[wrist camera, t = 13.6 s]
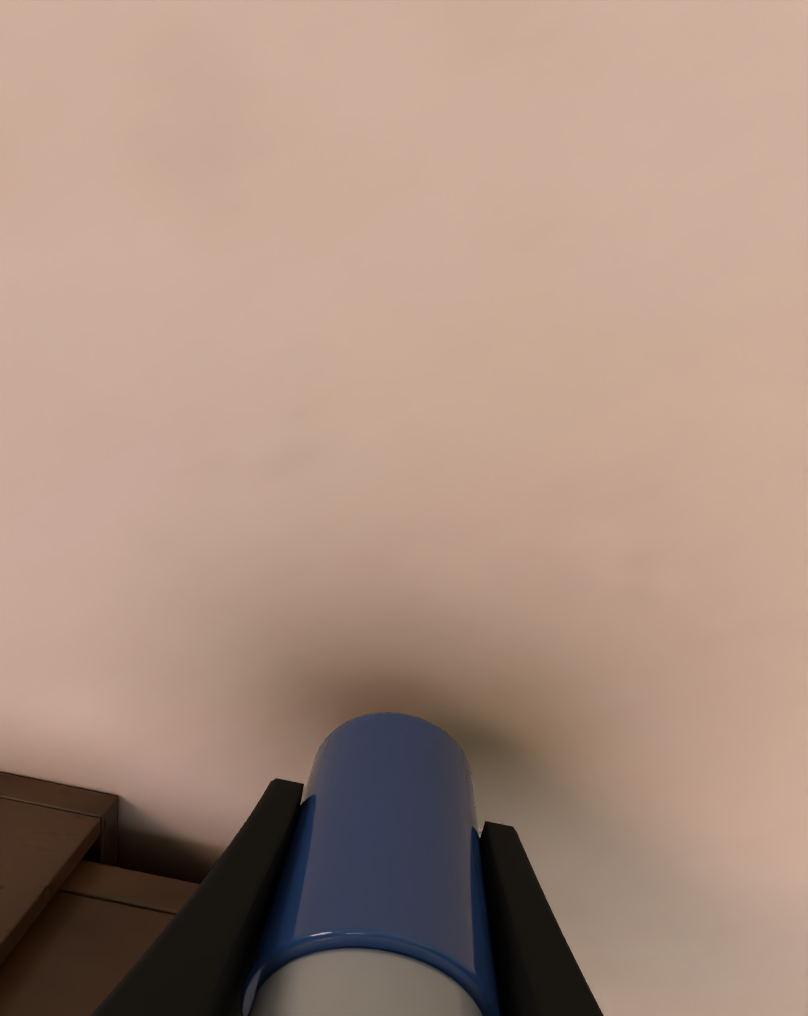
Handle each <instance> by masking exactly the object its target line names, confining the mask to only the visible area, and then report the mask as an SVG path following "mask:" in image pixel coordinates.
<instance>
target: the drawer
mask: <svg viewBox="0 0 808 1016" xmlns="http://www.w3.org/2000/svg"><path fill="white" fill-rule="evenodd" d="M199 885H200V884H197V883H192V882H187V881H182V880H177V879H172V878H168V877H163V876H158V875H153V874H148V873H143V872H138V871H134V870H129V869H124V868H119V867H114V866H109V865H105V864H100V863H95V862H90V861H85V860H80V862H79V863H78V864H77V866H76V867H75V868H74V870H73V871H72V872H71V874H70V875H69V876H68V877H67V879H66V880H65V881H64V883H63V884H62V885H61V887H60V888H59V889H58V891H57V892H56V893H55V895H54V896H53V897H52V899H51V900H50V901H49V902H48V904H47V905H46V906H45V908H44V909H43V910H42V912H41V913H40V914H39V916H38V917H37V918H36V920H35V921H34V922H33V924H32V925H31V926H30V927H29V929H28V930H27V931H26V933H25V934H24V935H23V937H22V938H21V939H20V941H19V942H18V943H17V945H16V946H15V947H14V948H13V950H12V951H11V952H10V954H9V955H8V956H7V958H6V959H5V960H4V962H3V963H2V964H1V966H0V1016H90V1015H91V1014H92V1013H93V1012H94V1010H95V1009H96V1008H97V1007H98V1006H99V1005H100V1004H101V1003H102V1001H103V1000H104V999H105V998H106V997H107V996H108V995H109V994H110V992H111V991H112V990H113V989H114V988H115V987H116V986H117V984H118V983H119V982H120V981H121V980H122V979H123V978H124V976H125V975H126V974H127V973H128V972H129V971H130V969H131V968H132V967H133V966H134V965H135V964H136V962H137V961H138V960H139V959H140V958H141V957H142V955H143V954H144V953H145V952H146V951H147V949H148V948H149V947H150V946H151V945H152V943H153V942H154V941H155V940H156V938H157V937H158V936H159V935H160V934H161V932H162V931H163V930H164V929H165V927H166V926H167V925H168V924H169V923H170V921H171V920H172V919H173V918H174V916H175V915H176V914H177V913H178V911H179V910H180V909H181V908H182V907H183V905H184V904H185V903H186V902H187V900H188V899H189V898H190V897H191V895H192V894H193V893H194V891H195V890H196V889H197V888H198V886H199ZM240 1016H241V1014H240Z"/></svg>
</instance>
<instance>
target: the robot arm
mask: <svg viewBox="0 0 808 1016" xmlns="http://www.w3.org/2000/svg"><path fill="white" fill-rule="evenodd" d="M303 787H304V784H301V783H297V782H292V781H287V780H282V779H277V778H276V779H275V780H273V781H271V782H270V784H269V786H268V787H267V789H266V791H265V793H264V794H263V796H262V797H261V799H260V801H259V802H258V804H257V805H256V807H255V808H254V810H253V812H252V813H251V815H250V816H249V818H248V819H247V821H246V822H245V823H244V825H243V826H242V828H241V829H240V831H239V832H238V833H237V835H236V836H235V838H234V839H233V841H232V842H231V843H230V845H229V846H228V848H227V849H226V850H225V852H224V853H223V854H222V856H221V857H220V858H219V860H218V861H217V862H216V864H215V865H214V866H213V868H212V869H211V870H210V872H209V873H208V874H207V876H206V877H205V878H204V880H203V881H202V882H201V884H200V885H199V886H198V888H197V889H196V890H195V891H194V893H193V894H192V895H191V897H190V898H189V899H188V900H187V902H186V903H185V904H184V905H183V907H182V908H181V909H180V910H179V911H178V913H177V914H176V915H175V916H174V918H173V919H172V920H171V921H170V923H169V924H168V925H167V926H166V927H165V929H164V930H163V931H162V932H161V934H160V935H159V936H158V937H157V938H156V940H155V941H154V942H153V943H152V945H151V946H150V947H149V948H148V949H147V951H146V952H145V953H144V954H143V955H142V957H141V958H140V959H139V960H138V961H137V962H136V964H135V965H134V966H133V967H132V968H131V969H130V971H129V972H128V973H127V974H126V975H125V976H124V978H123V979H122V980H121V981H120V982H119V983H118V984H117V986H116V987H115V988H114V989H113V990H112V991H111V992H110V994H109V995H108V996H107V997H106V998H105V999H104V1000H103V1001H102V1003H101V1004H100V1005H99V1006H98V1007H97V1008H96V1009H95V1010H94V1012H93V1013H92V1014H91V1015H90V1016H240V1014H241V1011H240V1000H241V990H242V987H243V984H244V980H245V977H246V974H247V971H248V968H249V964H250V961H251V958H252V955H253V952H254V949H255V946H256V942H257V939H258V936H259V933H260V930H261V927H262V923H263V920H264V917H265V914H266V911H267V908H268V905H269V901H270V898H271V895H272V892H273V889H274V886H275V882H276V879H277V876H278V873H279V870H280V867H281V864H282V861H283V859H284V856H285V853H286V849H287V846H288V843H289V840H290V837H291V834H292V830H293V827H294V824H295V821H296V818H297V815H298V811H299V808H300V805H301V799H302V793H303ZM480 846H481V854H482V862H483V870H484V879H485V887H486V895H487V903H488V911H489V919H490V927H491V935H492V944H493V952H494V960H495V968H496V976H497V984H498V992H499V1000H500V1009H501V1016H604V1015H603V1014H602V1012H601V1010H600V1008H599V1006H598V1004H597V1002H596V1000H595V998H594V996H593V994H592V992H591V990H590V988H589V986H588V984H587V982H586V980H585V978H584V976H583V974H582V972H581V970H580V968H579V966H578V964H577V962H576V960H575V958H574V956H573V954H572V952H571V950H570V948H569V946H568V944H567V942H566V940H565V938H564V936H563V934H562V931H561V929H560V927H559V925H558V923H557V921H556V919H555V917H554V915H553V912H552V910H551V908H550V906H549V904H548V902H547V899H546V897H545V895H544V893H543V891H542V889H541V886H540V884H539V882H538V880H537V877H536V875H535V873H534V871H533V868H532V866H531V864H530V862H529V859H528V857H527V855H526V852H525V850H524V848H523V846H522V843H521V841H520V839H519V836H518V834H517V832H516V830H515V829H514V827H512V826H507V825H502V824H497V823H492V822H488V821H485V824H484V827H483V830H482V834H481V837H480Z"/></svg>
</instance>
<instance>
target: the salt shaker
mask: <svg viewBox="0 0 808 1016" xmlns="http://www.w3.org/2000/svg"><path fill="white" fill-rule="evenodd" d="M240 1011H241V1016H501V1009H500V1000H499V992H498V984H497V976H496V968H495V960H494V952H493V944H492V935H491V927H490V919H489V911H488V903H487V895H486V887H485V879H484V870H483V862H482V854H481V846H480V838H479V830H478V822H477V813H476V805H475V797H474V789H473V781H472V773H471V769H470V765H469V763H468V760H467V758H466V756H465V754H464V753H463V751H462V749H461V748H460V747H459V745H458V744H457V743H456V742H455V740H454V739H453V738H452V737H450V736H449V735H448V734H447V733H446V732H445V731H443V730H442V729H441V728H439V727H438V726H436V725H434V724H432V723H430V722H428V721H426V720H423V719H421V718H418V717H415V716H411V715H407V714H401V713H390V712H386V713H374V714H368V715H364V716H360V717H357V718H355V719H352V720H350V721H348V722H346V723H344V724H342V725H341V726H339V727H338V728H337V729H335V730H334V731H333V732H332V733H331V734H330V735H329V736H328V737H327V738H326V739H325V740H324V742H323V743H322V744H321V746H320V747H319V750H318V752H317V754H316V756H315V759H314V763H313V766H312V769H311V772H310V775H309V778H308V781H307V785H306V788H305V791H304V794H303V797H302V800H301V805H300V808H299V811H298V815H297V818H296V821H295V824H294V827H293V830H292V834H291V837H290V840H289V843H288V846H287V849H286V853H285V856H284V859H283V861H282V864H281V867H280V870H279V873H278V876H277V879H276V882H275V886H274V889H273V892H272V895H271V898H270V901H269V905H268V908H267V911H266V914H265V917H264V920H263V923H262V927H261V930H260V933H259V936H258V939H257V942H256V946H255V949H254V952H253V955H252V958H251V961H250V964H249V968H248V971H247V974H246V977H245V980H244V984H243V987H242V990H241V1000H240Z"/></svg>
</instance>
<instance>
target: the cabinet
mask: <svg viewBox="0 0 808 1016" xmlns="http://www.w3.org/2000/svg"><path fill="white" fill-rule="evenodd" d="M80 860H85V861H90V862H95V863H100V864H105V865H109V866H114V867H117V796H113V795H108V794H103V793H98V792H93V791H88V790H83V789H79V788H74V787H69V786H64V785H59V784H54V783H49V782H44V781H40V780H35V779H30V778H25V777H20V776H15V775H10V774H5V773H1V772H0V966H1V964H2V963H3V962H4V960H5V959H6V958H7V956H8V955H9V954H10V952H11V951H12V950H13V948H14V947H15V946H16V945H17V943H18V942H19V941H20V939H21V938H22V937H23V935H24V934H25V933H26V931H27V930H28V929H29V927H30V926H31V925H32V924H33V922H34V921H35V920H36V918H37V917H38V916H39V914H40V913H41V912H42V910H43V909H44V908H45V906H46V905H47V904H48V902H49V901H50V900H51V899H52V897H53V896H54V895H55V893H56V892H57V891H58V889H59V888H60V887H61V885H62V884H63V883H64V881H65V880H66V879H67V877H68V876H69V875H70V874H71V872H72V871H73V870H74V868H75V867H76V866H77V864H78V863H79V862H80Z"/></svg>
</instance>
